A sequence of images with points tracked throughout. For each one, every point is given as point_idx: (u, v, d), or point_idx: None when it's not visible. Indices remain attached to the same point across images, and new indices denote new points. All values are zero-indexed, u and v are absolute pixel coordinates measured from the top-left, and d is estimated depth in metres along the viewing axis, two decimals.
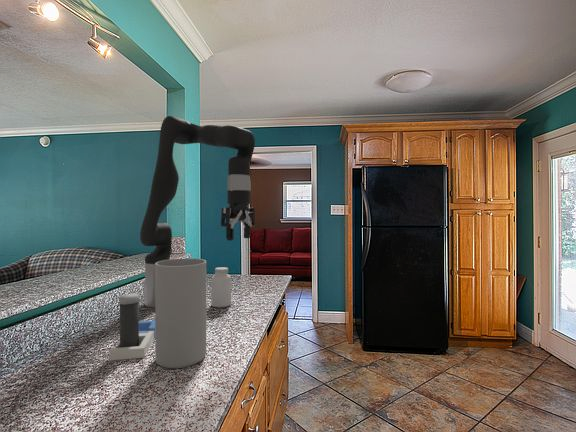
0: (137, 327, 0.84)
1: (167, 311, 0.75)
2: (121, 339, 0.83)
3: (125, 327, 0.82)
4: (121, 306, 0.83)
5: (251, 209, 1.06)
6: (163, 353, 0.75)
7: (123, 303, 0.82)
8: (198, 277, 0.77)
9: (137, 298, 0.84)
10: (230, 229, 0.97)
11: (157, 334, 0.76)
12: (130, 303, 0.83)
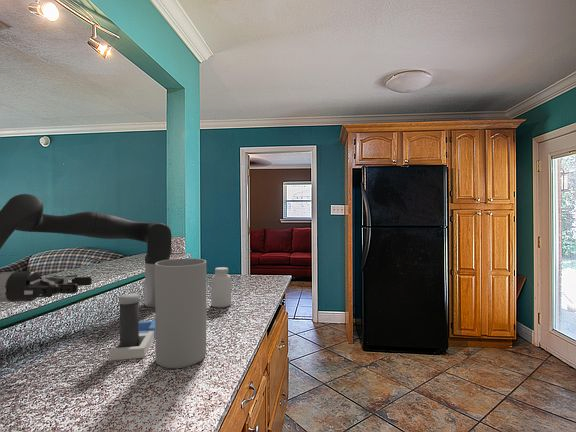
0: (137, 327, 0.84)
1: (167, 311, 0.75)
2: (121, 339, 0.83)
3: (125, 327, 0.82)
4: (121, 306, 0.83)
5: None
6: (163, 353, 0.75)
7: (123, 303, 0.82)
8: (198, 277, 0.77)
9: (137, 298, 0.84)
10: (60, 286, 0.76)
11: (157, 334, 0.76)
12: (130, 303, 0.83)
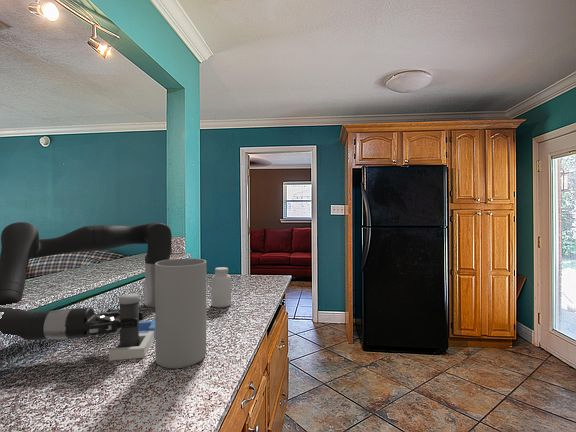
0: (137, 327, 0.84)
1: (167, 311, 0.75)
2: (121, 339, 0.83)
3: None
4: (121, 306, 0.83)
5: None
6: (163, 353, 0.75)
7: (123, 303, 0.82)
8: (198, 277, 0.77)
9: (137, 298, 0.84)
10: (122, 321, 0.81)
11: (157, 334, 0.76)
12: (130, 303, 0.83)
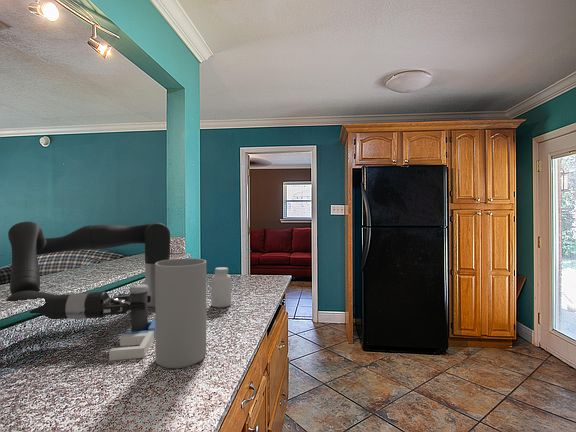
0: (146, 314, 0.95)
1: (167, 311, 0.75)
2: (132, 324, 0.93)
3: (136, 314, 0.93)
4: (132, 295, 0.93)
5: None
6: (163, 353, 0.75)
7: (134, 292, 0.93)
8: (198, 277, 0.77)
9: (146, 288, 0.95)
10: (131, 304, 0.91)
11: (157, 334, 0.76)
12: (140, 292, 0.93)
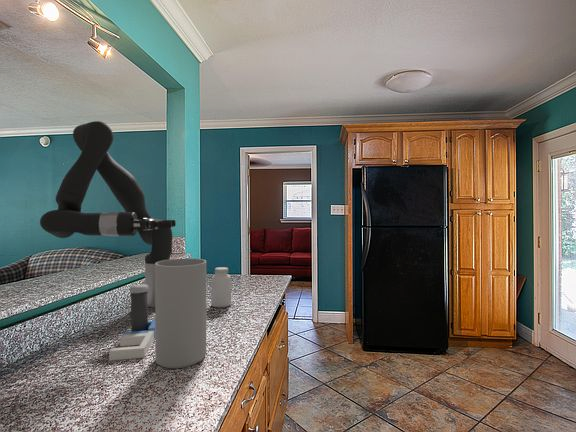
0: (146, 314, 0.95)
1: (167, 311, 0.75)
2: (132, 324, 0.93)
3: (136, 313, 0.93)
4: (132, 295, 0.93)
5: None
6: (163, 353, 0.75)
7: (134, 292, 0.93)
8: (198, 277, 0.77)
9: (146, 288, 0.95)
10: (159, 222, 0.95)
11: (157, 334, 0.76)
12: (140, 292, 0.93)
